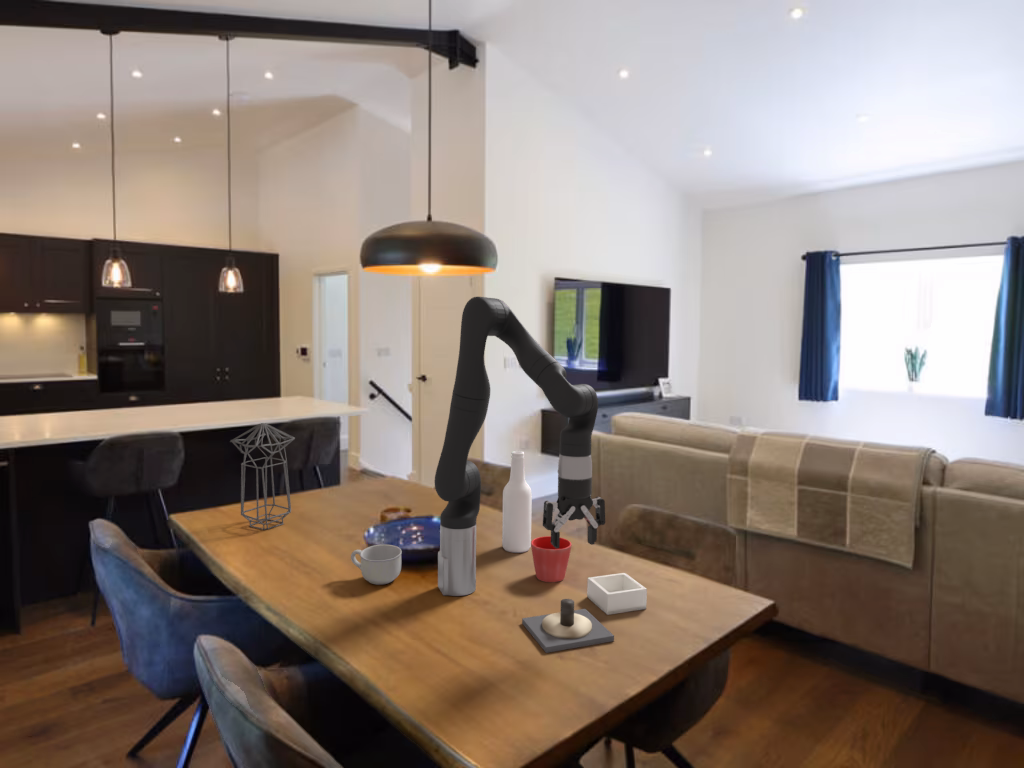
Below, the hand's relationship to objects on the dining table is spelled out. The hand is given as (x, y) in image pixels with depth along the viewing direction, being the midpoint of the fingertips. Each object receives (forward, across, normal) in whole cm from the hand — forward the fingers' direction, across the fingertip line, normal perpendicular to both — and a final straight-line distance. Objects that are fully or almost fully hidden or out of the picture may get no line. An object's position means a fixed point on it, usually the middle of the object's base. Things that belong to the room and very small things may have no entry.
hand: (573, 545), depth 142 cm
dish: (+19, +16, +9) cm, 26 cm away
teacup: (+19, -39, +40) cm, 59 cm away
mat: (+19, -2, -2) cm, 19 cm away
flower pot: (+19, +6, +28) cm, 35 cm away
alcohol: (+19, +4, +52) cm, 56 cm away
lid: (+18, -2, -2) cm, 18 cm away
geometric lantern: (+18, -70, +96) cm, 120 cm away
